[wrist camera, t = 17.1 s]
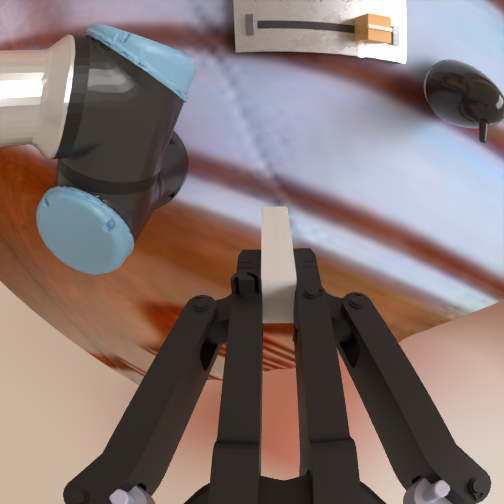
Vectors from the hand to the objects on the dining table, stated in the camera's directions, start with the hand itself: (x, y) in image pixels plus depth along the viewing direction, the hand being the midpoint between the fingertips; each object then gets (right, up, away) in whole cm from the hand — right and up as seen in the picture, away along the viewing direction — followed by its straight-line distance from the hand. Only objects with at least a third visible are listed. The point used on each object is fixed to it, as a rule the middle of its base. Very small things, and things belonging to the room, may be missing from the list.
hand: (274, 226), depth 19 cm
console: (+8, +33, +12) cm, 36 cm away
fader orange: (+14, +28, +13) cm, 34 cm away
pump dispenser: (+28, +24, +18) cm, 41 cm away
